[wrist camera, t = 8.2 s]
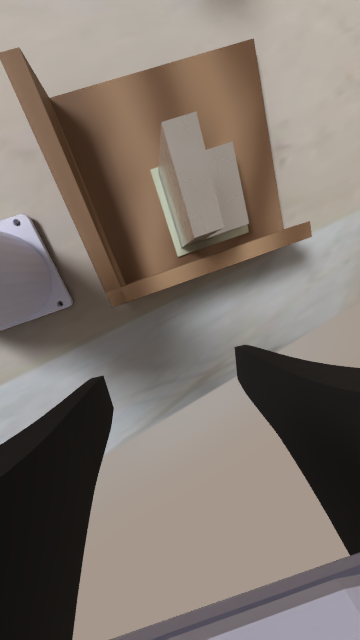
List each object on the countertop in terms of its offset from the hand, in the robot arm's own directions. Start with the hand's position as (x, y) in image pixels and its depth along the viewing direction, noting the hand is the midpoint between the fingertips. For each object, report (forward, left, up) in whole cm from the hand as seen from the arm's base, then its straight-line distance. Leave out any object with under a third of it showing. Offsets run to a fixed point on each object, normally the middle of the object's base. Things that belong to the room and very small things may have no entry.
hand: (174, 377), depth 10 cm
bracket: (+7, +10, -9) cm, 15 cm away
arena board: (+5, +12, -10) cm, 16 cm away
